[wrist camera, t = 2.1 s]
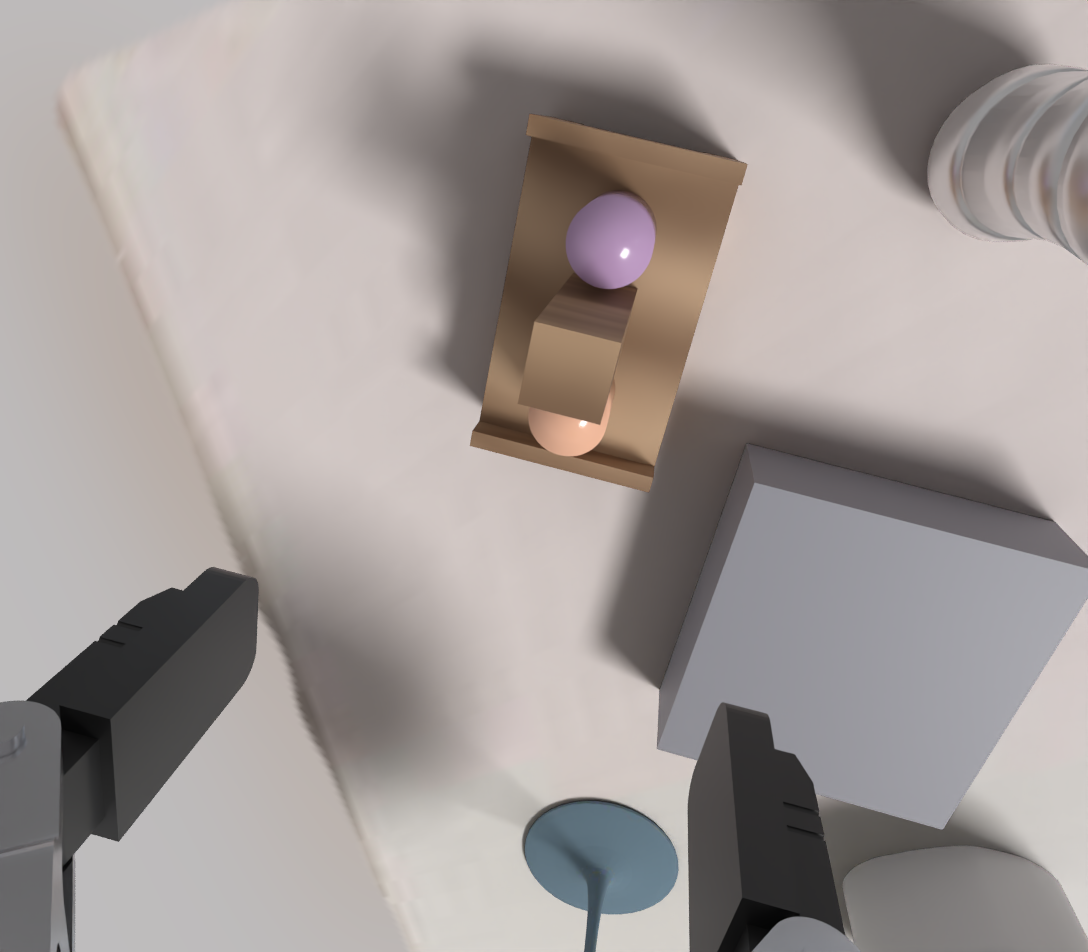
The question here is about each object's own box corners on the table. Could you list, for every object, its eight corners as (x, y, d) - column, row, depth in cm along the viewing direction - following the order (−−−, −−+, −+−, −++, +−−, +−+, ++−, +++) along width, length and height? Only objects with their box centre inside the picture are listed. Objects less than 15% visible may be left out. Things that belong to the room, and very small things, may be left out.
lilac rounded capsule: (588, 182, 33) (575, 188, 29) (665, 199, 33) (663, 209, 29) (571, 261, 35) (557, 278, 30) (645, 278, 34) (641, 297, 30)
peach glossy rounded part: (553, 345, 36) (537, 372, 32) (623, 363, 36) (615, 393, 32) (538, 410, 38) (521, 444, 34) (605, 428, 38) (596, 465, 33)
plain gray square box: (746, 443, 40) (754, 482, 36) (1055, 522, 39) (1103, 572, 35) (659, 690, 47) (656, 748, 43) (917, 762, 46) (942, 829, 42)
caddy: (548, 116, 36) (478, 107, 23) (739, 160, 35) (769, 174, 23) (492, 412, 42) (414, 526, 30) (652, 454, 41) (639, 587, 29)
